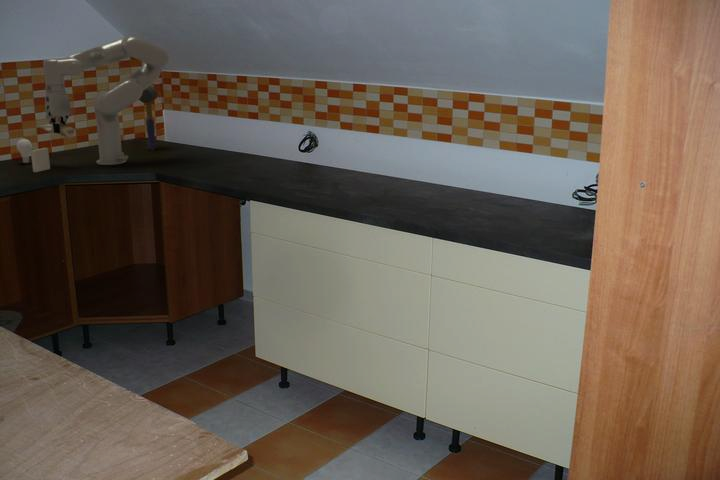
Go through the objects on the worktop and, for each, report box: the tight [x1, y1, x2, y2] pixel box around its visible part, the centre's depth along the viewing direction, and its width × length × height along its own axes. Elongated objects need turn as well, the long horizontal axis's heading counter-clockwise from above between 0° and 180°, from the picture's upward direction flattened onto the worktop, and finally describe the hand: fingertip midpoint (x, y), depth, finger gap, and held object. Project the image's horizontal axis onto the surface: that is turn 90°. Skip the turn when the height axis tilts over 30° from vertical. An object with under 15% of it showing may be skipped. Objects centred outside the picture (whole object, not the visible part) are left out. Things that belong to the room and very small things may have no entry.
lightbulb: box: [15, 138, 33, 165], centre depth 359 cm, size 6×6×11 cm
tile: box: [30, 147, 51, 173], centre depth 344 cm, size 2×8×9 cm, turn 156°
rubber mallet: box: [138, 85, 159, 151], centre depth 389 cm, size 12×8×30 cm, turn 1°
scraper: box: [38, 121, 75, 139], centre depth 348 cm, size 16×6×4 cm, turn 63°
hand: (60, 132), depth 348 cm, fingers closed on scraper, 2 cm apart
